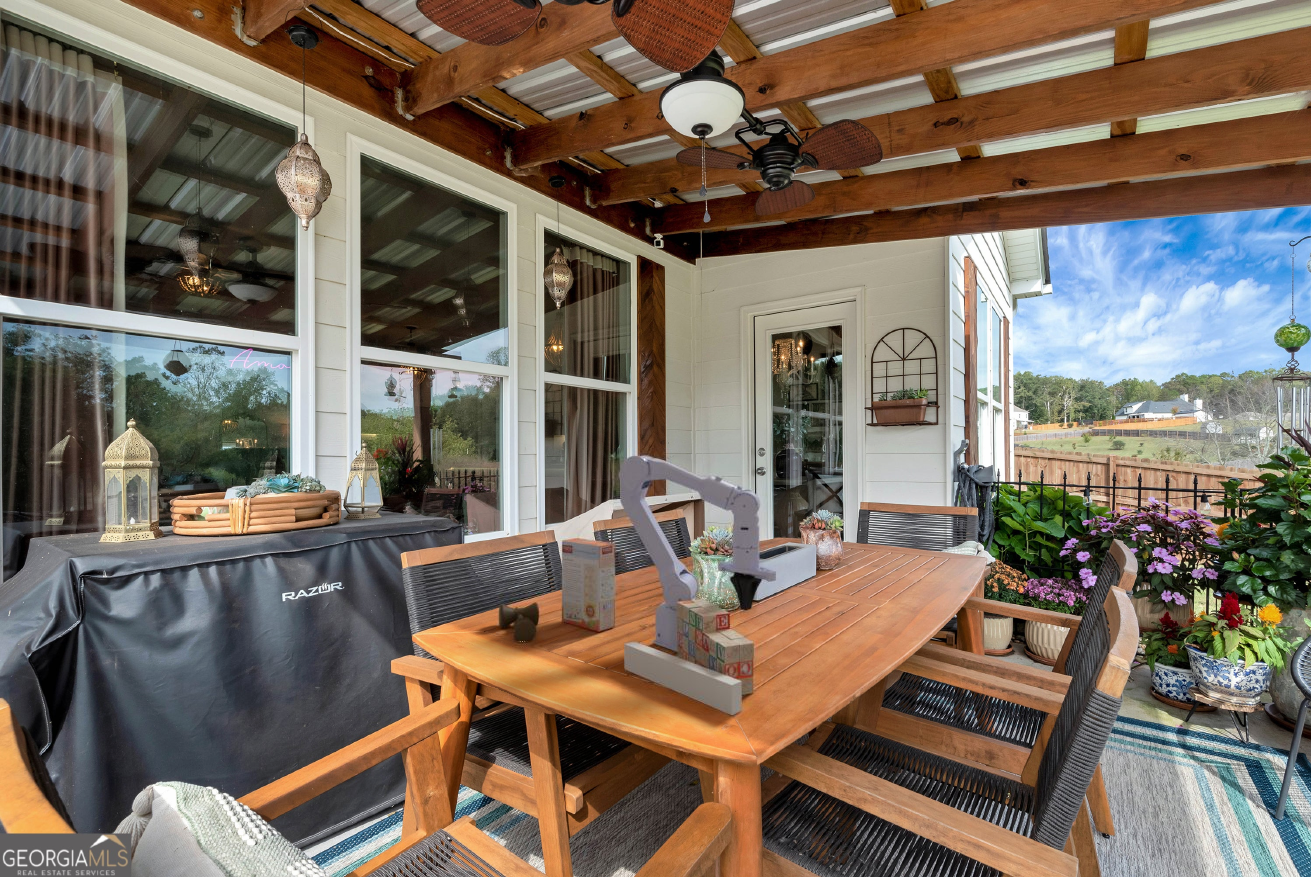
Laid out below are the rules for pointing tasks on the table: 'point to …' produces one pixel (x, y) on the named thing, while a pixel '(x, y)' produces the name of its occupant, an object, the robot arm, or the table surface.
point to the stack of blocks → (714, 642)
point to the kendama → (520, 620)
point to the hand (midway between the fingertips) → (746, 608)
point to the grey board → (684, 677)
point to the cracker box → (588, 583)
